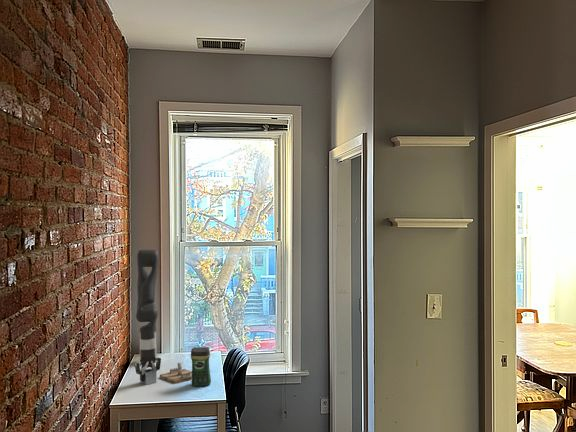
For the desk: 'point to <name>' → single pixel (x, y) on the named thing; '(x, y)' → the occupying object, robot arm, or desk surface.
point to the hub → (149, 376)
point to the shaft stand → (177, 375)
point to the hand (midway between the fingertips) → (148, 380)
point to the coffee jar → (200, 366)
